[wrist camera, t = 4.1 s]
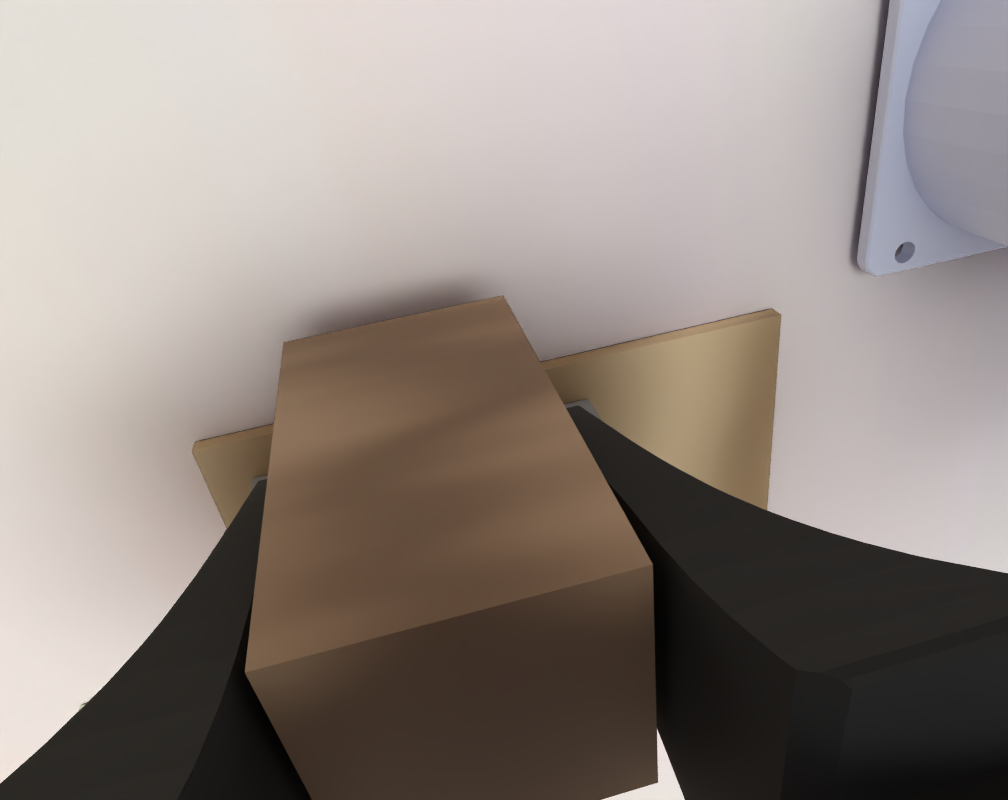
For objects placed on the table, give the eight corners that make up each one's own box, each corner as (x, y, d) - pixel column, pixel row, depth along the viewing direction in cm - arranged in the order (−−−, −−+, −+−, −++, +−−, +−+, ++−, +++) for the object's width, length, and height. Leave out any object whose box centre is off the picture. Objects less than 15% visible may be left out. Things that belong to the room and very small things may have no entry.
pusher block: (502, 295, 13) (653, 564, 7) (527, 466, 15) (658, 782, 9) (283, 342, 12) (244, 672, 6) (341, 511, 14) (351, 875, 9)
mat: (772, 308, 17) (780, 314, 17) (748, 674, 24) (754, 683, 24) (194, 442, 16) (191, 452, 15) (351, 791, 23) (352, 803, 22)
